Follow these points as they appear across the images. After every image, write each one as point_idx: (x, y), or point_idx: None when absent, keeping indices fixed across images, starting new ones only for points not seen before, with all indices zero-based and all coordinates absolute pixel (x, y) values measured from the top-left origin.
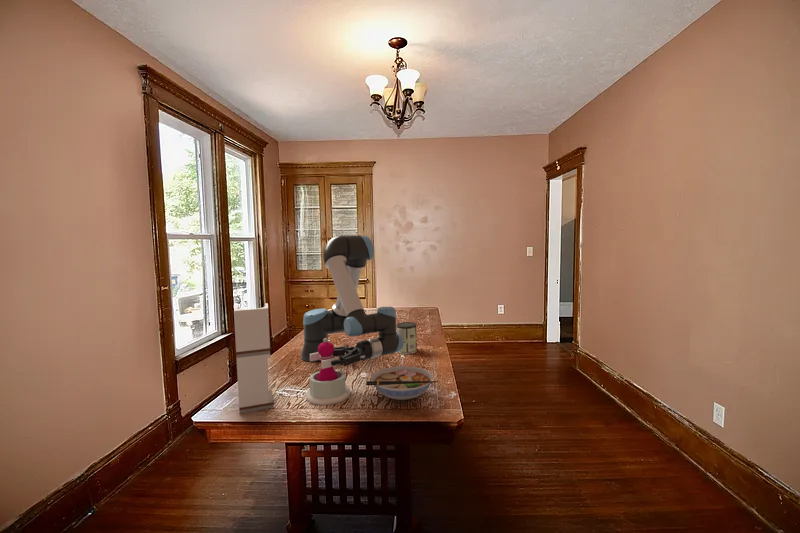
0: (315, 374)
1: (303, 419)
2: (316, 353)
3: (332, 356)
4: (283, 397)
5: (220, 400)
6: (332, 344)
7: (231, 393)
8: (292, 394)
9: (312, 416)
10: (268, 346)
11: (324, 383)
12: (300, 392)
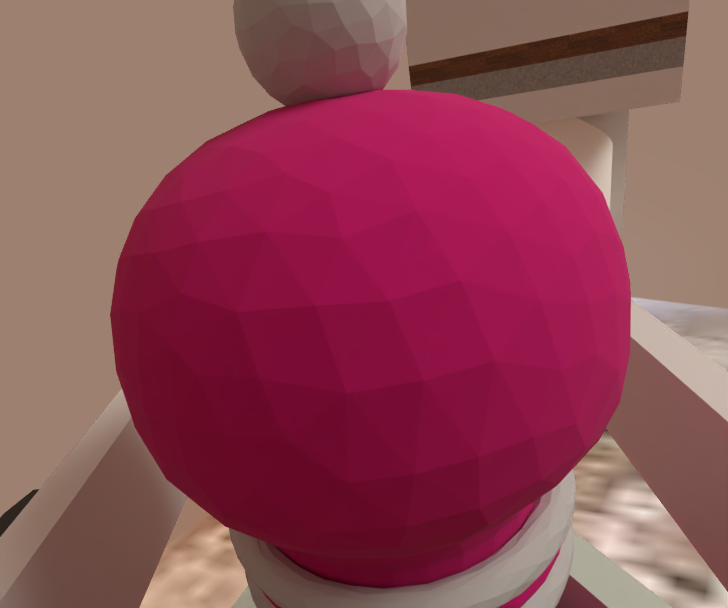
0: (585, 587)
1: (209, 516)
2: (638, 346)
3: (243, 566)
4: (586, 477)
5: (634, 301)
6: (167, 250)
7: (719, 316)
8: (630, 533)
9: (192, 565)
10: (408, 51)
11: (241, 604)
12: (666, 599)
